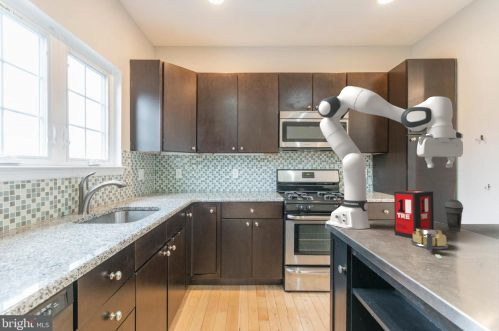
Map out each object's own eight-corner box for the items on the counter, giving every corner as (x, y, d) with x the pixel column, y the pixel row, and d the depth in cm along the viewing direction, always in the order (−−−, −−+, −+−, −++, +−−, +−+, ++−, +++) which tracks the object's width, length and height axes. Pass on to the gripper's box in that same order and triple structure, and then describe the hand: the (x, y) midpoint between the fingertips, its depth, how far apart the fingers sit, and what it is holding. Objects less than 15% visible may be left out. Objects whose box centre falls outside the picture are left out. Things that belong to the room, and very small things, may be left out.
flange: (406, 244, 102) (406, 229, 102) (416, 239, 109) (416, 225, 110) (443, 252, 93) (443, 235, 93) (451, 245, 100) (451, 230, 100)
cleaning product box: (415, 239, 109) (414, 193, 110) (394, 235, 117) (394, 191, 117) (433, 234, 118) (433, 191, 118) (413, 230, 126) (412, 190, 126)
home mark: (435, 254, 89) (435, 254, 89) (439, 255, 89) (439, 254, 89) (438, 258, 86) (438, 257, 86) (442, 258, 85) (442, 258, 85)
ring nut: (413, 236, 109) (413, 225, 109) (445, 240, 102) (444, 228, 103) (411, 247, 93) (411, 234, 93) (449, 253, 87) (448, 238, 87)
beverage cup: (458, 229, 127) (457, 189, 127) (467, 233, 120) (466, 191, 120) (441, 229, 129) (441, 189, 129) (449, 232, 121) (449, 190, 122)
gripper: (426, 132, 101) (426, 167, 100) (466, 134, 105) (466, 167, 105) (412, 135, 107) (412, 167, 107) (451, 136, 111) (451, 167, 111)
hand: (440, 167), depth 106 cm, fingers open, 8 cm apart
